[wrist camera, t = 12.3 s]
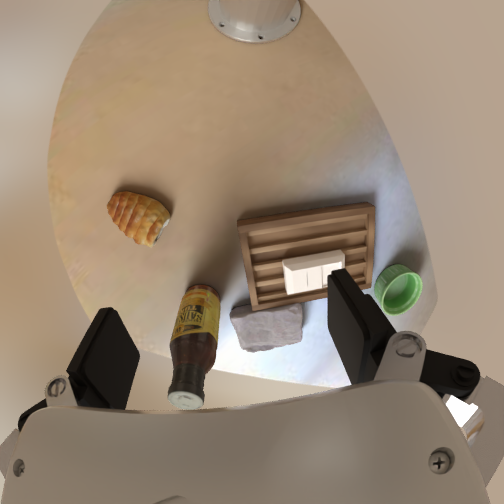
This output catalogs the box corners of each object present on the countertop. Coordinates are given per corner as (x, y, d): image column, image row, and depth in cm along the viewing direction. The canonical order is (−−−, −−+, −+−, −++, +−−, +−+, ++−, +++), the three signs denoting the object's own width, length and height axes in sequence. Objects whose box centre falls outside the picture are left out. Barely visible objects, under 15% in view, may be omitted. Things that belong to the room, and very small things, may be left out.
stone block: (301, 325, 50) (298, 289, 44) (307, 345, 46) (304, 310, 40) (240, 337, 50) (227, 303, 44) (241, 357, 46) (227, 325, 41)
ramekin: (378, 310, 48) (387, 324, 44) (365, 278, 44) (376, 291, 40) (414, 286, 46) (425, 298, 42) (405, 251, 43) (418, 262, 39)
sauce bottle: (205, 275, 42) (191, 375, 23) (228, 302, 44) (230, 404, 26) (173, 295, 43) (147, 393, 25) (197, 320, 45) (185, 419, 27)
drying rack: (237, 220, 38) (237, 226, 36) (367, 201, 38) (375, 206, 36) (251, 301, 44) (252, 311, 42) (365, 280, 44) (371, 287, 42)
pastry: (105, 217, 37) (94, 225, 33) (122, 178, 35) (111, 182, 31) (156, 246, 39) (149, 257, 36) (176, 208, 37) (171, 216, 34)
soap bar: (282, 260, 39) (285, 268, 37) (340, 249, 39) (346, 257, 37) (285, 288, 41) (288, 297, 39) (340, 277, 41) (346, 286, 39)
